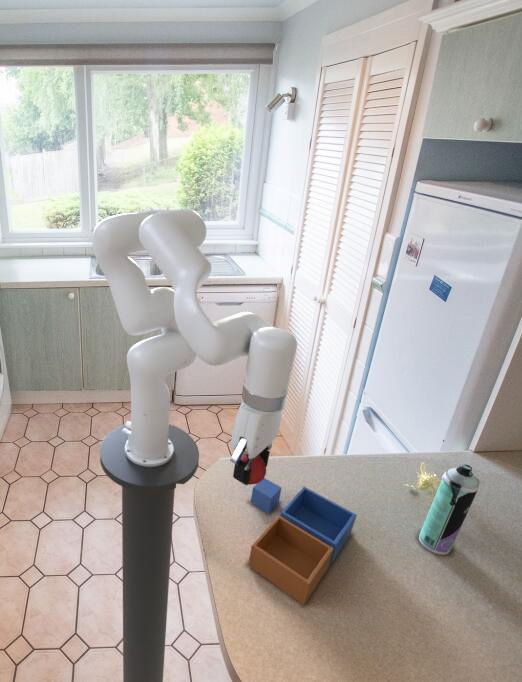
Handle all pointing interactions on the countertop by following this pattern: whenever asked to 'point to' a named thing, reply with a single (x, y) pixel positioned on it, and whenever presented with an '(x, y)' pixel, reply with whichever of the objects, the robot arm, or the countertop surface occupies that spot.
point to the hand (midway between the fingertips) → (250, 471)
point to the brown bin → (290, 558)
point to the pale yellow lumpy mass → (427, 481)
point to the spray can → (449, 509)
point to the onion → (256, 469)
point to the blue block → (266, 495)
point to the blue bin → (320, 518)
